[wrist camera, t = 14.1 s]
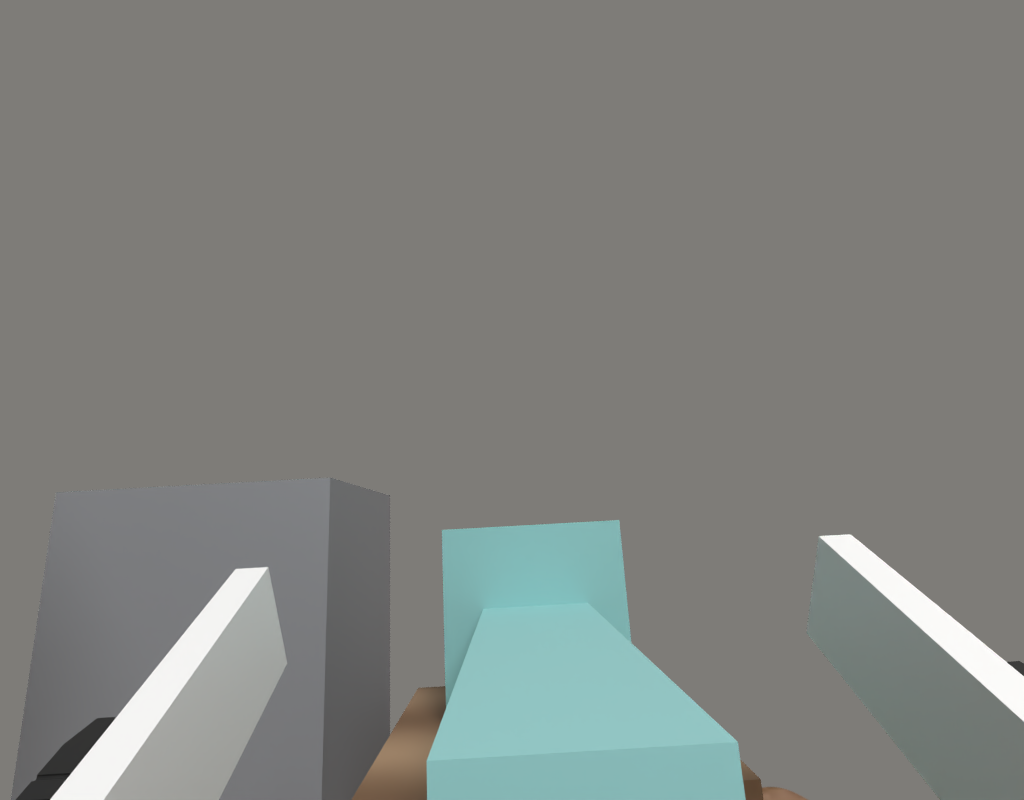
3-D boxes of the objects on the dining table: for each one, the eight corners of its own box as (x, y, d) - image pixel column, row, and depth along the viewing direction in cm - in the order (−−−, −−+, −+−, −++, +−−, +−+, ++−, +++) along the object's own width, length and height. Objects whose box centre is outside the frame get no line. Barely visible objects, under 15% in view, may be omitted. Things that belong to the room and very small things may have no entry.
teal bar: (927, 1136, 6) (809, 499, 8) (295, 1182, 6) (316, 525, 8) (605, 669, 26) (593, 523, 28) (463, 677, 26) (458, 530, 28)
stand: (309, 1265, 21) (330, 477, 28) (-62, 1292, 20) (56, 492, 28) (389, 973, 34) (389, 495, 41) (167, 987, 34) (206, 505, 41)
